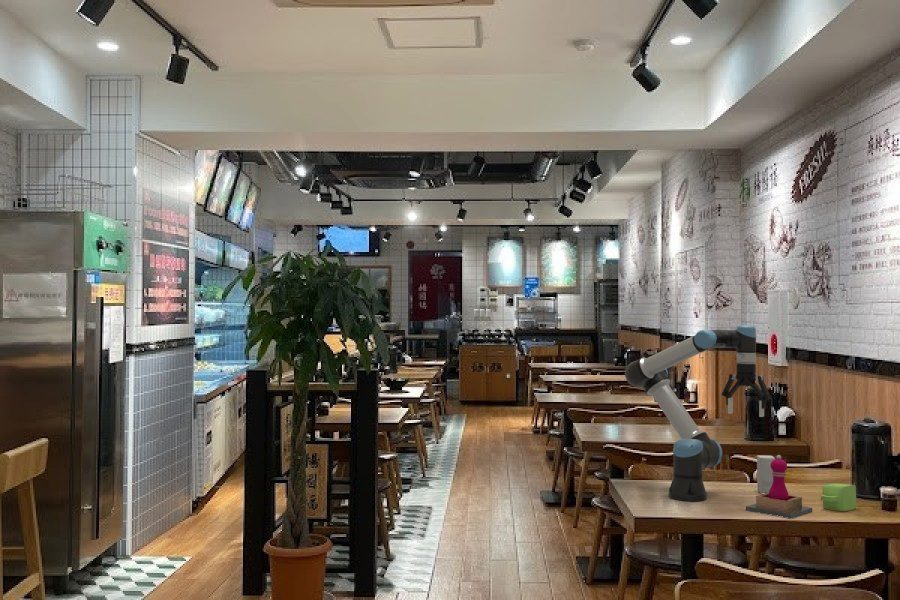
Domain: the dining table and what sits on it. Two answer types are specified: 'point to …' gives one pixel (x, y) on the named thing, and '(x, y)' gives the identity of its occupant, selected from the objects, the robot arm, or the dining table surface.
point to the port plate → (779, 506)
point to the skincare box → (764, 473)
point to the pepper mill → (778, 479)
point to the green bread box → (839, 497)
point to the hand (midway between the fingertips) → (745, 415)
